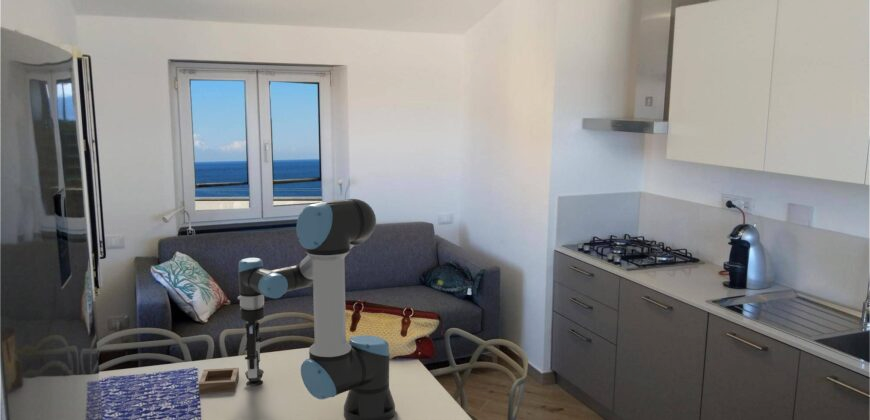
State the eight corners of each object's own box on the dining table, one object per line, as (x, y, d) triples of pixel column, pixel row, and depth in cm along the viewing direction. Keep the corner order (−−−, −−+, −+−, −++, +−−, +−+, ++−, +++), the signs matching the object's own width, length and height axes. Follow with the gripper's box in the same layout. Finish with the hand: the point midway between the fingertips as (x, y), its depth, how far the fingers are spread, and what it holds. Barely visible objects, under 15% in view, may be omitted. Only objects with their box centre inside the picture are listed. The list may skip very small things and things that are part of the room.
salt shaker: (258, 387, 212) (257, 352, 210) (242, 385, 213) (240, 350, 211) (267, 380, 218) (266, 345, 216) (250, 378, 219) (249, 343, 217)
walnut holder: (235, 391, 209) (235, 381, 208) (199, 393, 207) (198, 383, 206) (238, 376, 220) (238, 367, 219) (204, 379, 218) (203, 369, 217)
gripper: (243, 295, 222) (245, 355, 226) (235, 319, 198) (238, 386, 202) (266, 294, 224) (268, 353, 227) (261, 318, 200) (263, 384, 203)
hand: (254, 369), depth 215 cm, fingers open, 13 cm apart
